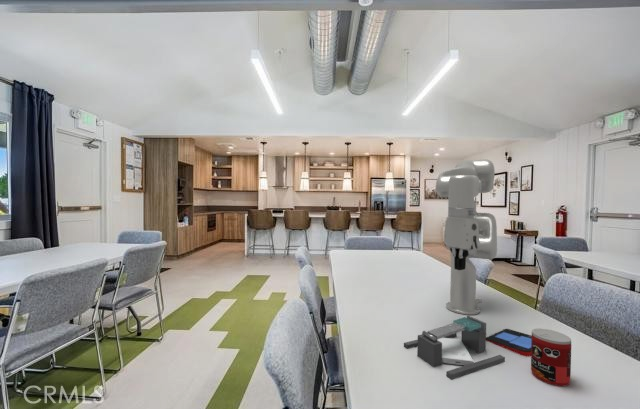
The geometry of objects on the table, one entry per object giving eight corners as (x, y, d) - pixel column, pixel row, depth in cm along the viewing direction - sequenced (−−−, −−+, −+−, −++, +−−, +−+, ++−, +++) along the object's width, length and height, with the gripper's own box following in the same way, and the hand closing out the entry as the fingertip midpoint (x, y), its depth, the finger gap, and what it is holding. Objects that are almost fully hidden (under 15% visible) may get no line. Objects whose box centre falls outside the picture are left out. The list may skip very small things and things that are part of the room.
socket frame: (452, 334, 96) (453, 309, 96) (504, 361, 80) (505, 331, 80) (403, 346, 87) (404, 318, 87) (451, 379, 71) (451, 345, 71)
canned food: (523, 369, 76) (524, 328, 76) (551, 368, 77) (551, 327, 77) (548, 387, 69) (549, 342, 69) (579, 386, 69) (580, 341, 69)
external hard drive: (461, 344, 89) (474, 366, 77) (433, 341, 90) (442, 362, 78) (461, 339, 89) (474, 360, 77) (433, 336, 90) (442, 357, 78)
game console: (505, 331, 100) (505, 325, 100) (549, 347, 89) (549, 340, 89) (483, 341, 93) (483, 334, 93) (528, 360, 82) (528, 352, 82)
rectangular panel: (464, 320, 89) (464, 316, 89) (481, 327, 84) (480, 323, 84) (420, 334, 82) (420, 330, 82) (435, 343, 77) (435, 339, 77)
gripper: (490, 214, 87) (489, 273, 88) (449, 211, 100) (448, 262, 101) (474, 215, 84) (472, 277, 85) (434, 212, 97) (433, 265, 98)
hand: (459, 269), depth 93 cm, fingers closed
